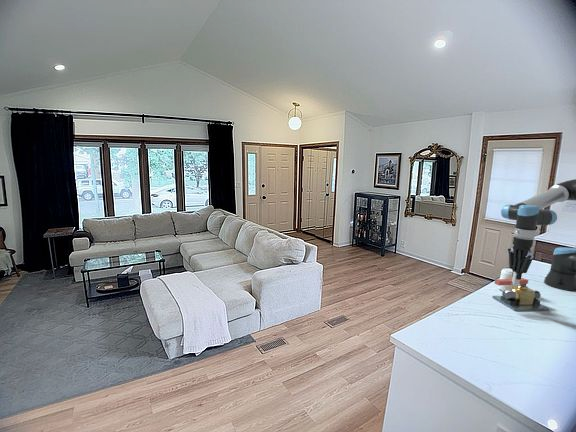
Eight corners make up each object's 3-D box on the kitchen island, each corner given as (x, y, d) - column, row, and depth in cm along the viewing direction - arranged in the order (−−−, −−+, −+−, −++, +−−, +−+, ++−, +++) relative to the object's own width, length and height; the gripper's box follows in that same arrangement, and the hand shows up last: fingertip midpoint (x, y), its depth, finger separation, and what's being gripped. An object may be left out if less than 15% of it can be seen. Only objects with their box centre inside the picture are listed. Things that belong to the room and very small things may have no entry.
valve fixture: (524, 297, 159) (527, 280, 157) (548, 310, 145) (552, 292, 143) (492, 297, 157) (495, 280, 155) (514, 310, 143) (517, 292, 142)
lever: (522, 284, 151) (523, 278, 150) (527, 286, 148) (528, 280, 148) (493, 286, 147) (494, 279, 147) (498, 288, 145) (499, 281, 144)
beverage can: (519, 294, 163) (523, 273, 161) (504, 293, 163) (508, 272, 161) (509, 288, 171) (512, 268, 169) (495, 287, 171) (498, 267, 169)
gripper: (505, 234, 147) (497, 279, 151) (528, 240, 135) (519, 290, 139) (519, 234, 148) (511, 279, 152) (543, 241, 135) (534, 290, 139)
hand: (515, 284), depth 145 cm, fingers closed
